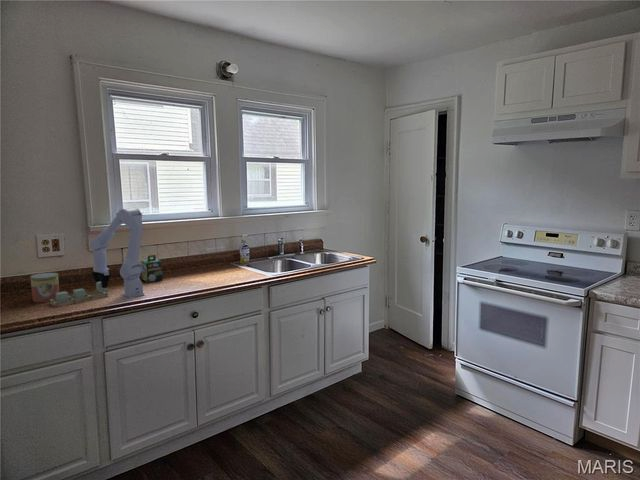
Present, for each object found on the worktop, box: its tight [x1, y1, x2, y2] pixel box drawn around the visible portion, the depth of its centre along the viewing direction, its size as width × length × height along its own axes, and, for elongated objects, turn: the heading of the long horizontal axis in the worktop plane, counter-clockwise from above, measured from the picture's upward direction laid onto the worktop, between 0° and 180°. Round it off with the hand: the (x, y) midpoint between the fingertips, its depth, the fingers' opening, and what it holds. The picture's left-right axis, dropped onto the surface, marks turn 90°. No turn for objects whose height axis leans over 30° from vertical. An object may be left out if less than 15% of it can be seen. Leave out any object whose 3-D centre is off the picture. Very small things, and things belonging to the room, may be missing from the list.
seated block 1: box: [56, 290, 70, 302], centre depth 194 cm, size 4×4×5 cm
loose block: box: [95, 282, 109, 292], centre depth 216 cm, size 4×4×5 cm
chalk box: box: [140, 254, 164, 283], centre depth 241 cm, size 9×9×15 cm
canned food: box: [30, 272, 60, 303], centre depth 200 cm, size 11×11×12 cm
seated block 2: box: [72, 288, 86, 299], centre depth 199 cm, size 4×4×5 cm
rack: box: [49, 290, 109, 308], centre depth 200 cm, size 8×23×2 cm, turn 139°
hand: (101, 286), depth 216 cm, fingers open, 7 cm apart
